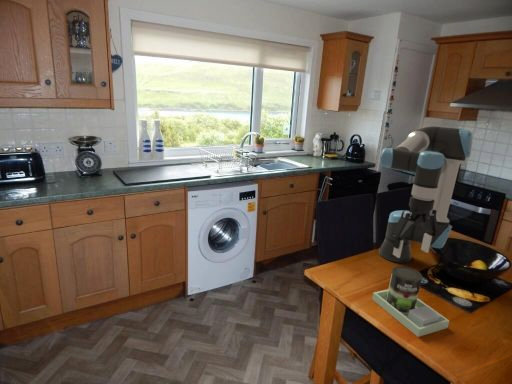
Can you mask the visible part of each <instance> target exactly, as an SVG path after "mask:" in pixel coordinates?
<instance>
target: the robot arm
mask: <svg viewBox="0 0 512 384" xmlns="http://www.w3.org/2000/svg"><path fill="white" fill-rule="evenodd" d="M472 144H473V133H472V131H471V130H469V129H462V128H457V127H456V128H455V127H444V126H435V125H434V126H432V125H431V126H426V127H421V128H418V129H416V130H414V131H412V132H411V133H409V134H408V136H407V137H406V139H405V140H404V141H403V142H401V143H400V144H399V145H397V146H396V147H395V148H393V147H384V148H383V149H382V151H381V153H380V158H379V165H380V166H381V167H382V168H385V169H388V170H397V171H403V172H408V173H413V174H414V179H413V183H412V184H413V185H412V188H411V193H410V196H409V197H410V198H409V203H408V206H409V208H410V209H409V210H395V211H392V212H390V213H389V215H388V216H389V218H388V221H387V226H386V232H385V237H384V240H383V241H382V243H381V245H380V246H379V248H378V249H379V250H378V254H379V255H380V257H382V258H383V259H385V260H386V261H387V260H388V261H390V262H393V263H399V264H406V263H409V262H411V261H412V251H411V250H412V249H411V243H412V242H414V243H418V244H420V245H421V248H420V250H421V251H422V252H424V253H427V254H428V253H429V251H430V248H435V249H442V248H444V246H445V245H446V242H447V240H448V238H449V236H450V234H451V231H452V228H453V226H452V225H451V224H450V219H449V218H448V213H449V208H450V205H451V200H452V198H453V193H454V189H455V186H456V185H455V184H456V181H457V177H458V173H459V169H460V165H462V164H463V163H464V162H466V161H465V160H466V159H468V158H469V159H470V157H471V152H472V146H473V145H472Z"/></svg>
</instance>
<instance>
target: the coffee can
mask: <svg viewBox="0 0 512 384" xmlns="http://www.w3.org/2000/svg"><path fill="white" fill-rule="evenodd" d="M390 276H391V277H390V280H389V286H388V289H389V290H388V289H387V290H388V294H387V299H386V301H387V302H388V303H389V304H390V305H392V306H393V307H394V308H395V309H397V310H398V311H399V312H400V313H402V314H409V310H412V309H415V305H416V301H417V298H418V296H419V292H420V288H421V283H422V281H423V275H422V274H421V272H419V271H418V270H416V269H414V268H411V267H409V266H404V265H403V266H402V265H397V266H393V267H392V269H391V275H390Z"/></svg>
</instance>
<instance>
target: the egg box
mask: <svg viewBox="0 0 512 384" xmlns="http://www.w3.org/2000/svg"><path fill="white" fill-rule="evenodd" d="M429 307H430V306H429ZM429 307H427V306H423V307H419V308H415V309H412V310H409V314H408V319H409V320H411V321H412V322H413V323H414V324H416V325H417V326H418V327H419V328H420V327H423V326H426V325H430V324H433V323H437V322H439V320H440V315H438V314H437V313H436V312H437V311H436V312H434V311H433V310H434V309H433V310H431V309H430V308H429Z"/></svg>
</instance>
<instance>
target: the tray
mask: <svg viewBox="0 0 512 384" xmlns="http://www.w3.org/2000/svg"><path fill="white" fill-rule="evenodd" d="M388 290H389V288H387V289H384V290H379V291H374V292H373V293H372V298H371V300H372V301H373V302H375V303H376V304H377V305H378V306H380V307H381V308H382V309H383V310H384V311H385V312H387V313H388V314H389V315H391V317H393V318H394V319H395V320H396V321H398V322H399V323H400V324H401V325H402V326H404V327H405V328H406V329H408V330H409V332H411V333H412V334H413V335H415V336H416V338H419V337H423V336H425V335H426V336H427V335H429V334H432V333H435V332H439V331H442V330H445V329H448V327H449V323H450V320H449V319H448V318H446V317H445V316H444V315H442V314H441V313H439V312H438V311H436V310H435V309H433V308H432V307H431V306H430V305H427V304H426V303H425V302H423V301H422V300H421V299H419V298H418V297H417V301H416V305H415V308H419V307H423V306H427V307H429V308H430V309H431V310H433V311H434V312H436V313H437V314H438V315H440V320H439V322H437V323H433V324H430V325H426V326H423V327H420V328H419V327H418V326H417V325H416V324H414V323H413V322H412V321H411V320H409V319H408V314H402V313H400V312H399V311H398V310H397V309H395V308H394V307H393V306H392V305H390V304H389V303H388V302H387V301H386V299H387V294H388Z"/></svg>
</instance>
